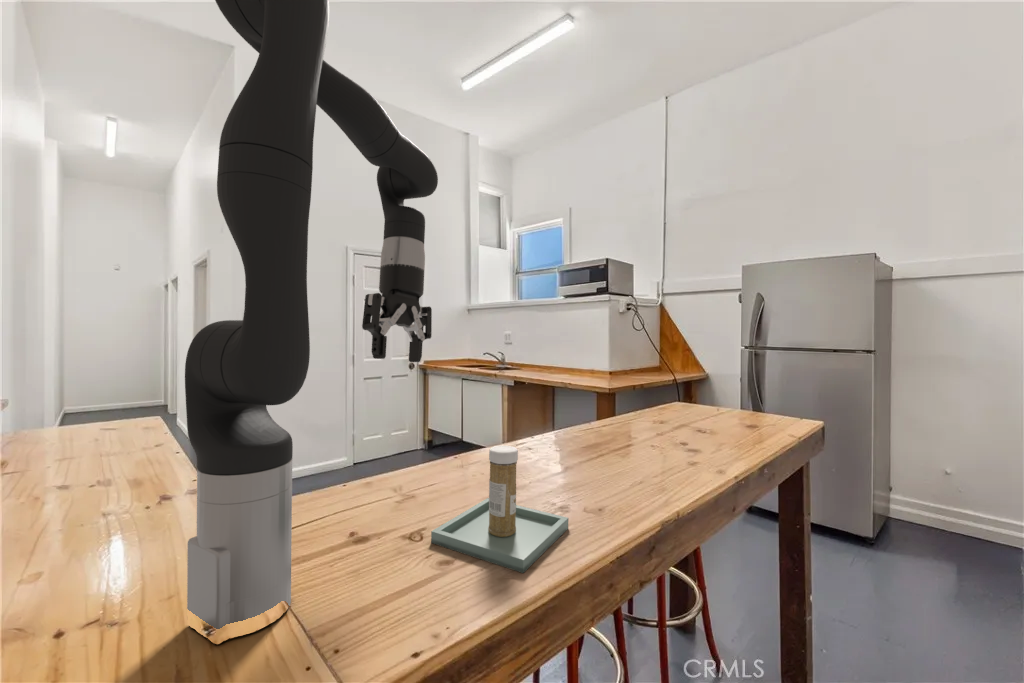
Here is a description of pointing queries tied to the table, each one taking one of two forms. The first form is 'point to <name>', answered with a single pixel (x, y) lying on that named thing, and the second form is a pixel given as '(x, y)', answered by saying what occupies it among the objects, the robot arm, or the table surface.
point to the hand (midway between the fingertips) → (397, 360)
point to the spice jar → (502, 490)
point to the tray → (510, 551)
